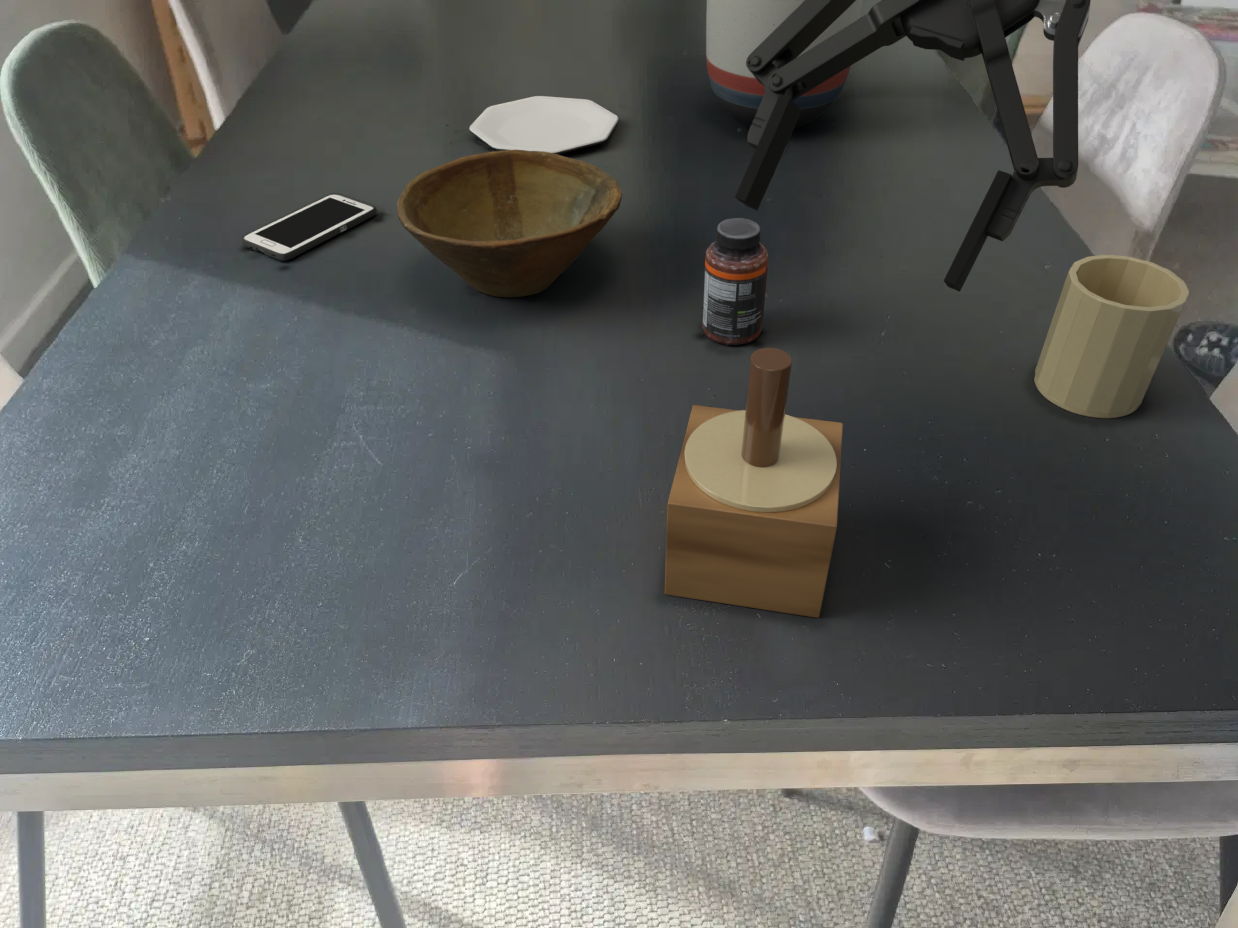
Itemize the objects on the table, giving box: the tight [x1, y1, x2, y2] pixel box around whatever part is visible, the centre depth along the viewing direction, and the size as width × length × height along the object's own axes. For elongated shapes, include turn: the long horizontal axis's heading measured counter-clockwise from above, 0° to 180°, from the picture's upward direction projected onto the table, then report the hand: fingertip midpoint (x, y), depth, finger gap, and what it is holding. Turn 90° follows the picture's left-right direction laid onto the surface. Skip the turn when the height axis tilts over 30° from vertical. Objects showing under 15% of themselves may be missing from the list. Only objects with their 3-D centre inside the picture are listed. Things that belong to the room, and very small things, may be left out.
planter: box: [705, 0, 864, 129], centre depth 129 cm, size 20×20×21 cm
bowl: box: [395, 149, 623, 298], centre depth 100 cm, size 22×23×10 cm
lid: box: [684, 347, 837, 512], centre depth 63 cm, size 10×10×8 cm
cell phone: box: [241, 192, 378, 262], centre depth 111 cm, size 8×15×1 cm, turn 145°
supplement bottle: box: [701, 217, 769, 346], centre depth 91 cm, size 6×6×11 cm
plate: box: [469, 95, 620, 155], centre depth 133 cm, size 20×20×2 cm
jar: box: [1033, 254, 1190, 419], centre depth 83 cm, size 9×9×11 cm
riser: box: [664, 404, 844, 619], centre depth 68 cm, size 11×11×9 cm
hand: (844, 244), depth 57 cm, fingers open, 13 cm apart
